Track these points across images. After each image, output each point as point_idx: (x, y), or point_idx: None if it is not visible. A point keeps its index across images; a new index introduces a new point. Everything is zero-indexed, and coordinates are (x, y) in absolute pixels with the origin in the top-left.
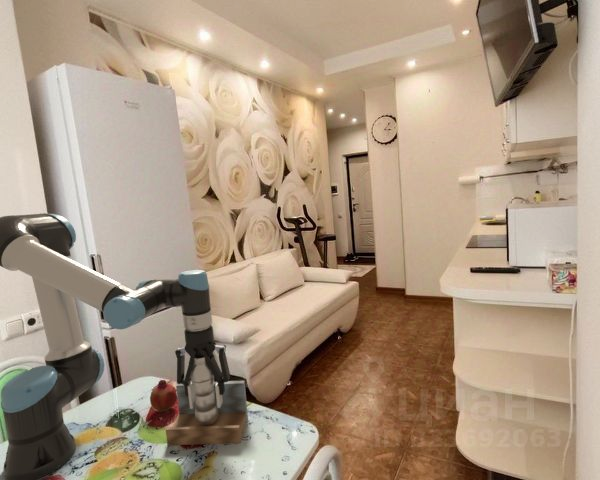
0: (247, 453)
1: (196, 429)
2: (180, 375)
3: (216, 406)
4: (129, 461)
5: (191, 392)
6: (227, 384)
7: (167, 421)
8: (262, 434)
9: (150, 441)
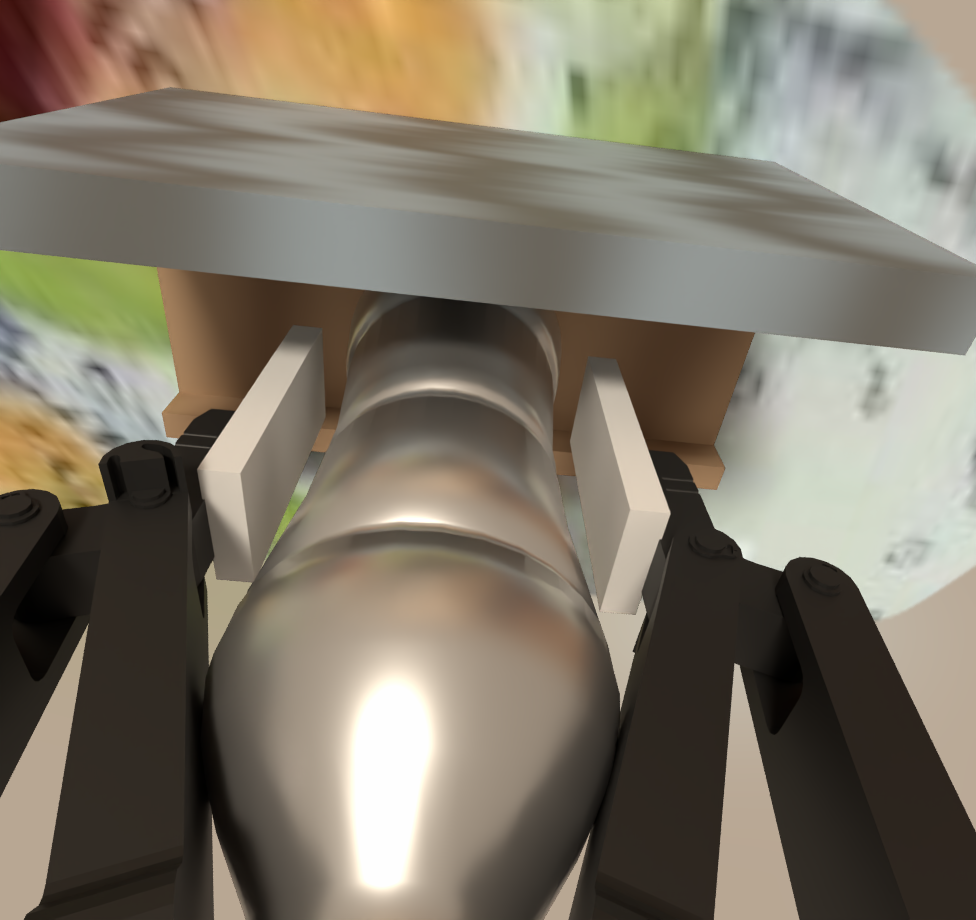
0: (721, 502)
1: None
2: (29, 715)
3: (553, 397)
4: (61, 471)
5: (280, 507)
6: (727, 326)
7: (23, 70)
8: (842, 370)
9: (62, 323)
